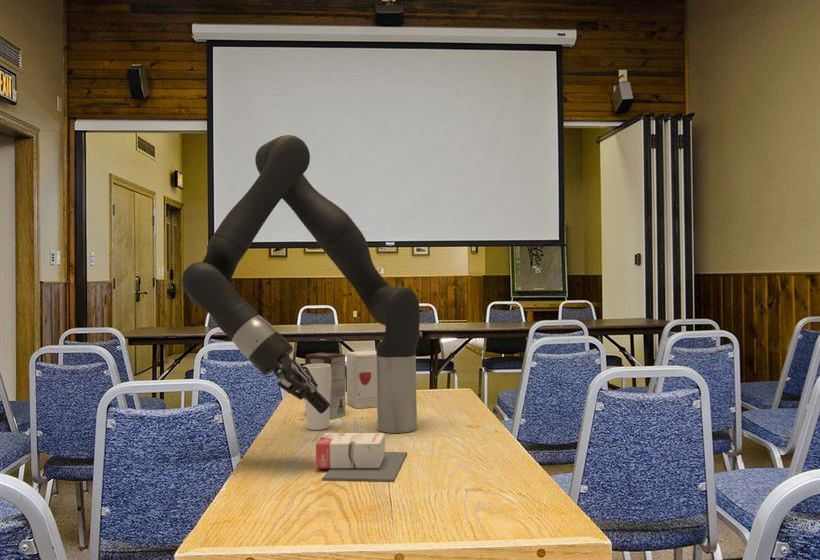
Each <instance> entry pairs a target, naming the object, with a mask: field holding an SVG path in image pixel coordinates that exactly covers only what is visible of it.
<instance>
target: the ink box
mask: <svg viewBox="0 0 820 560" xmlns="http://www.w3.org/2000/svg"><path fill="white" fill-rule="evenodd" d="M385 433H386V432H374V433H373V432H325V433H323V435H322V436H321V437H320V438H319V440H318V441H317V442H316V443H315V463H316V464H315V465H316V466H315V467H316V469H317V470H319V469H320V470H322V469H325V470H326V469H328V470H330V469H336V468H380V465H381V463H382V461H383V458H384V452H386V451H385V449H386V448H385V445H386V434H385Z"/></svg>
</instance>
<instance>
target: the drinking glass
mask: <svg viewBox="0 0 820 560" xmlns="http://www.w3.org/2000/svg"><path fill="white" fill-rule="evenodd" d="M304 366H305V367H307V368H308V370H309V371H310V373H311V375H312V377H313V378H314V380H315V382H316V383H317V385H318V387H317V389H318V390H317V391H318V392H319V393H320V394H321V395H322V396H323V397H324V398H325V399H326V400H327V401H328V402H329V403H330V399H331V385H332V372H331V365H330V364H307V365H305V364H304V365H303V366H302V368H303V367H304ZM305 408H306V415H305V418H306V419H305V420H306V428H307V429H308V430H310V431H323V430H327V429H329V427H330V419H329V414H330V407H329V408H328V409H327V410H326V411H325V412H323V413H322V414H321V413H319V412H318V411H317V410H316V409H315V408H314V407H313V406H312V405H311V404H310V403H309V402H308V401H306V400H304V409H305Z"/></svg>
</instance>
